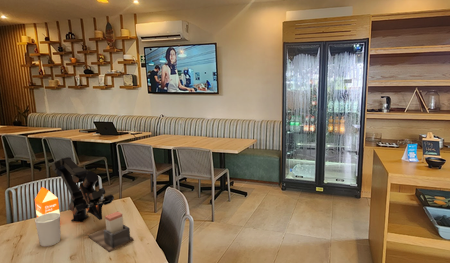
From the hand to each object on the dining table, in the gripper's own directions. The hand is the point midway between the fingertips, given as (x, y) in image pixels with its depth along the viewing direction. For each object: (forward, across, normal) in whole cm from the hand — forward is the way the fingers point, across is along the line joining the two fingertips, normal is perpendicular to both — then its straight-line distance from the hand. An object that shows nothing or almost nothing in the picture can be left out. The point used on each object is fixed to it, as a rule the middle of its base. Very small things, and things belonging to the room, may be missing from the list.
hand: (101, 219), depth 137 cm
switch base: (+11, 0, -1) cm, 11 cm away
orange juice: (-15, -13, +26) cm, 33 cm away
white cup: (-3, -19, +14) cm, 24 cm away
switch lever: (+13, 0, -5) cm, 14 cm away
